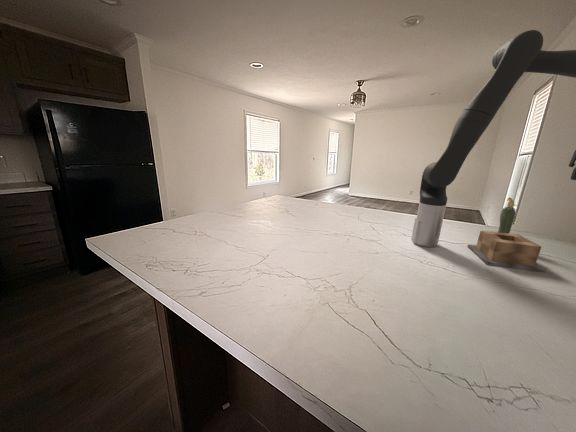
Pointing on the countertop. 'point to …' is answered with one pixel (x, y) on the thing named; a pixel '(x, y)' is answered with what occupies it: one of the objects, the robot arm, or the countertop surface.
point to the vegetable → (507, 217)
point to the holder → (507, 251)
